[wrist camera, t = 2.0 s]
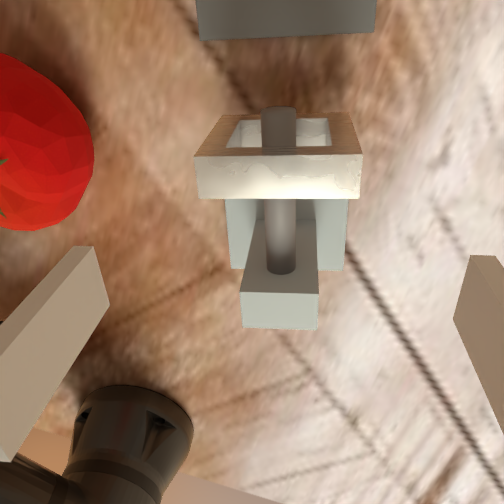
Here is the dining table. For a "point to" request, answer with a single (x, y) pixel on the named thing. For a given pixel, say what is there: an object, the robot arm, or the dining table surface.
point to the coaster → (283, 18)
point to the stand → (284, 244)
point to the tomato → (39, 149)
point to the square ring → (280, 160)
